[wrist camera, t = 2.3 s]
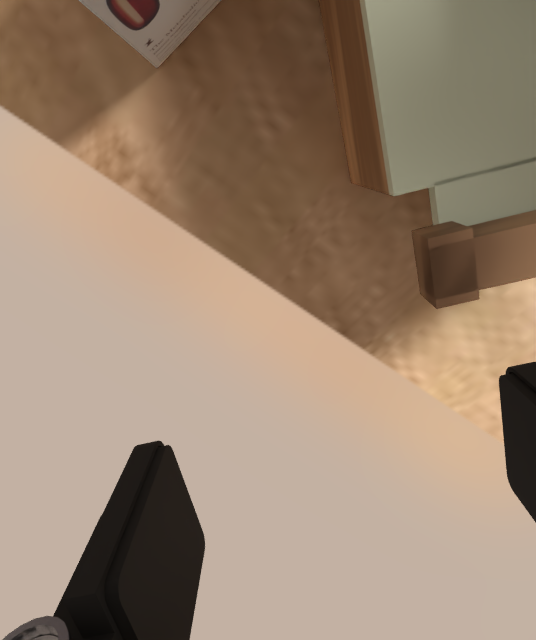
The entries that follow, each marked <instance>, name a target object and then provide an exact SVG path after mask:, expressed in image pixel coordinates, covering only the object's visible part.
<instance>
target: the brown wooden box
mask: <svg viewBox="0 0 536 640" xmlns="http://www.w3.org/2000/svg"><path fill="white" fill-rule="evenodd" d="M319 4H320V10H321V16H322V21H323V27H324V32H325V38H326V44H327V49H328V55H329V61H330V66H331V72H332V77H333V83H334V89H335V94H336V100H337V106H338V111H339V117H340V122H341V128H342V134H343V139H344V145H345V151H346V156H347V162H348V167H349V173H350V179H351V183H353V184H357V185H360V186H363V187H366V188H369V189H373V190H376V191H379V192H382V193H385V194H389V190H388V183H387V176H386V170H385V163H384V157H383V150H382V144H381V137H380V131H379V124H378V117H377V111H376V104H375V98H374V91H373V85H372V78H371V72H370V65H369V58H368V52H367V45H366V39H365V32H364V26H363V19H362V13H361V6H360V0H319Z"/></svg>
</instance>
